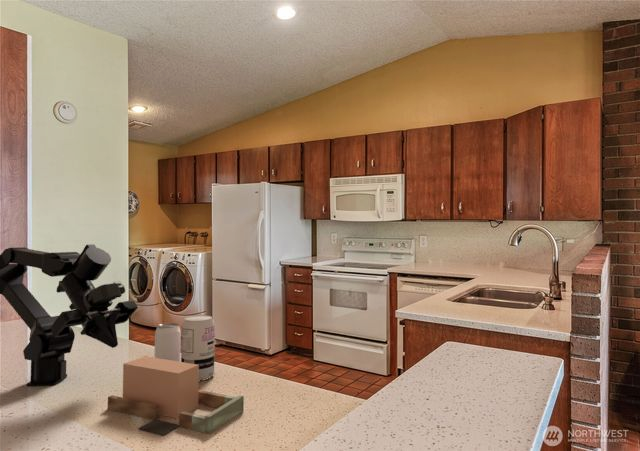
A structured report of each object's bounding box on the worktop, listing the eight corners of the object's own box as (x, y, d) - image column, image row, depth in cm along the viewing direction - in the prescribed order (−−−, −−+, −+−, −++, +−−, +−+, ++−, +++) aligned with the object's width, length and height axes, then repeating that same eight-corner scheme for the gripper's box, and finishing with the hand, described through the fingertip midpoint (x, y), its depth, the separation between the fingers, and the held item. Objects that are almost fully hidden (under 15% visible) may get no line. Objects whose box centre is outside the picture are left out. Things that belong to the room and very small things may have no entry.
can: (171, 375, 107) (172, 328, 107) (149, 373, 108) (150, 327, 109) (184, 367, 113) (185, 323, 114) (163, 365, 115) (164, 322, 115)
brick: (122, 406, 88) (123, 363, 88) (144, 396, 93) (145, 356, 93) (177, 419, 82) (178, 373, 82) (198, 407, 87) (198, 364, 87)
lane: (90, 416, 82) (90, 401, 82) (161, 385, 100) (162, 372, 100) (194, 443, 72) (194, 426, 72) (254, 403, 89) (254, 389, 89)
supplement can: (185, 372, 110) (185, 315, 110) (216, 371, 110) (217, 314, 111) (177, 382, 101) (178, 321, 102) (211, 382, 102) (212, 321, 103)
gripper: (61, 273, 87) (96, 331, 82) (133, 268, 104) (166, 315, 99) (36, 308, 90) (69, 366, 85) (110, 297, 107) (141, 345, 102)
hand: (115, 346), depth 93 cm, fingers closed
